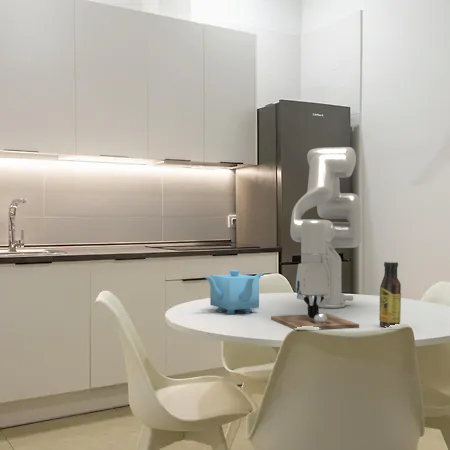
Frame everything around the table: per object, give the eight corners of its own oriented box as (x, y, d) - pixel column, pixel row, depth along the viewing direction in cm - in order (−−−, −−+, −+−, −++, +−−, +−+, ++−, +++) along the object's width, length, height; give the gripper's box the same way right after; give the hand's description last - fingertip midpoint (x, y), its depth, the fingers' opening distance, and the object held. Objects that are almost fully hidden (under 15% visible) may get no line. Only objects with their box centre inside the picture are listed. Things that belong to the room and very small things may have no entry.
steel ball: (330, 320, 188) (326, 328, 190) (326, 310, 191) (322, 318, 193) (318, 320, 187) (314, 329, 189) (314, 310, 190) (310, 318, 192)
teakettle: (216, 307, 231) (216, 267, 231) (266, 309, 227) (266, 268, 226) (201, 314, 213) (201, 271, 213) (255, 316, 208) (255, 273, 208)
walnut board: (326, 316, 209) (326, 313, 209) (359, 327, 188) (359, 324, 188) (271, 319, 203) (271, 316, 203) (298, 330, 182) (298, 327, 182)
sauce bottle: (376, 324, 193) (376, 260, 192) (396, 324, 193) (396, 260, 193) (383, 328, 186) (383, 262, 186) (403, 328, 187) (404, 262, 186)
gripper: (329, 258, 201) (329, 315, 201) (286, 259, 197) (286, 316, 197) (340, 259, 194) (340, 318, 194) (296, 260, 189) (295, 320, 190)
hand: (313, 317), depth 195 cm, fingers closed
